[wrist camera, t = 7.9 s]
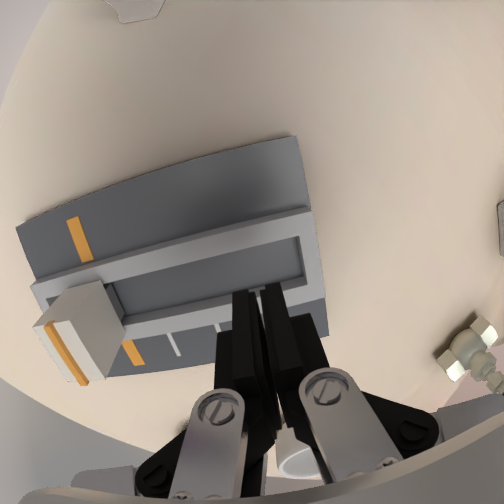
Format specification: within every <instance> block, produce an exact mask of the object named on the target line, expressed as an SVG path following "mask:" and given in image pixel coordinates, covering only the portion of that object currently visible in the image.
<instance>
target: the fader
mask: <svg viewBox="0 0 504 504" xmlns="http://www.w3.org/2000/svg"><path fill="white" fill-rule="evenodd" d="M124 314H125V313H124V311H123V309H122V306H121V304H120V302H119V300H118V298H117V296H116V293H115V291H114V289H113V287H112V285H111V283H109V284H105V285H103V284H102V282H101V280H99V281H95V282H91V283H87V284H84V285H80V286H76V287H72V288H68V289H65V290H64V292H63V293H62V294H61V295H60V296H59V297H58V298H57V299H56V300H55V301H54V303H53V304H52V305H51V306H50V307H49V308H48V309H47V311H46V312H45V313H44V314H43V315H42V316H41V317H40V319H39V320H38V321H37V322H36V323H35V325H34V326H33V327H32V328H33V329H34V331H35V333H36V335H37V336H38V338H39V340H40V341H41V343H42V345H43V346H44V348H45V349H46V351H47V352H48V354H49V356H50V357H51V359H52V360H53V362H54V363H55V365H56V366H57V368H58V369H59V370H60V372H61V373H62V375H63V376H64V378H65V379H66V380H67V382H76V381H78V382H79V384H80V385H81V386H87V385H88V383H89V381H94V380H106V378H107V375H108V373H109V371H110V368H111V366H112V364H113V361H114V359H115V357H116V354H117V352H118V350H119V348H120V345H121V343H122V341H123V339H124V337H125V334H126V332H125V330H124V328H123V326H122V324H121V320H122V318H123V316H124Z"/></svg>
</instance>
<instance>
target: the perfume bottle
mask: <svg viewBox="0 0 504 504" xmlns="http://www.w3.org/2000/svg"><path fill="white" fill-rule="evenodd" d="M104 1H105V2H106V3H108V4H109V5H110V6H112V7H113V8H114V9H115V10H116V11H117V15H118V18H119V21H120V23H122V24H123V23H129V22H134V21H140V20H146V19H152V18H155V17H156V16H157V15H158V13H159V11H160V9H161V7H162V5H163V3H164V1H165V0H104Z"/></svg>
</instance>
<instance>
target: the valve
mask: <svg viewBox="0 0 504 504" xmlns="http://www.w3.org/2000/svg"><path fill="white" fill-rule="evenodd" d="M497 338H498V336H497V333H496V331H495V329H494V328H493V327H492V325H491V324H490V323H489V322H488V321H487V320H486V319H485V318H484V317H482V316H479V317H478V318H477V319H476V320H475V321H474V322H473V323H472V324H471V326H470V327H469V329H465V330H463V331H461V332H460V333H458V334H457V335H456V336H455V338H454V339H453V340H452V342H451V344H450V347H449V349H447V350H446V351H445V352H444V353H443V354H442V355H441V356H440V357H439V358H438V359H437V362H438V363H439V364H440V366H441V367H442V368H443V370H444V371H445V372H446V374H447V375H448V376H449V377H450V379H451V380H452V381H453V382H455V381H456V380H457V379H458V378H459V377H461V376H462V375H463V374H464V373H465V372H466V371H465V370H468V369H470V370H471V376H472V377H473V378H474V380H475V381H477V382H478V381H481V380H482V381H486V380H487V381H488V382H487V385H486V386H487V387H488V388H489V389H490V391H491V392H492V393H497V392H498V393H499V394H501V395H503V396H504V375H503V374H502V373H501V372H500V371H498V372H495V369H496V366H495V364H496V358H495V357H494V356H493V355H492V354H491V353H490V352H488V353H486V352H485V351H486V349H488V348H489V347H490V346H491V345H492V344H493V342H494V341H495V340H496V339H497Z"/></svg>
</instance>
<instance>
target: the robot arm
mask: <svg viewBox="0 0 504 504" xmlns="http://www.w3.org/2000/svg"><path fill="white" fill-rule="evenodd" d="M259 291H260V298H261V305H262V312H263V319H264V324H263V320H262V317H261V313H260V309H259V305H258V301H257V298H256V294H255V291H253V292H249V290H248V289H243V290H239V291H234V292H232V330H227V331H221V332H218V333H217V341H216V358H215V377H214V390H212V391H209V392H207V393H205V394H204V395H202V396H201V397H200V398H199V399H198V400H197V401H196V402H195V404H194V406H193V408H192V412H191V416H190V419H189V423H188V426H187V428H186V429H185V430H184V431H182V432H181V433H180V434H179V435H178V436H176V437H175V438H174V439H173V440H171V441H170V442H169V443H168V444H166V445H165V446H164V447H163V448H161V449H160V450H159V451H158V452H156V453H155V454H154V455H153V456H151V457H150V458H149V459H147V460H146V461H145V462H144V463H143V464H142V465H141V466H140V467H136V468H135V467H134V466H124V467H117V468H109V469H100V470H87V471H82V472H79V473H78V474H77V475H75V477H74V478H73V480H72V482H71V487H47V488H43V489H38V490H34V491H32V492H29V493H28V494H26V495H25V496H23V498H22V499H21V500H20V502H19V503H18V504H504V396H503V395H501V394H497V393H494V394H488V395H485V396H483V397H479V398H476V399H472V400H469V401H466V402H462V403H459V404H455V405H451V406H447V407H442V408H438V410H437V412H433V413H427V412H425V411H423V410H419V409H416V408H412V407H409V406H406V405H403V404H399V403H396V402H393V401H390V400H387V399H384V398H381V397H378V396H375V395H372V394H369V393H366V392H363V391H360V389H359V387H358V386H357V384H356V383H355V381H354V380H353V378H352V377H351V376H350V375H349V374H348V373H347V372H345V371H343V370H342V369H338V368H330V366H329V363H328V360H327V357H326V355H325V352H324V349H323V346H322V343H321V341H320V338H319V335H318V332H317V329H316V327H315V324H314V321H313V319H312V316H311V314H310V313H306V314H301V315H297V316H293V317H289V313H288V310H287V306H286V302H285V298H284V295H283V291H282V287H281V284H280V281H279V282H275V283H270V284H266V285H265V289H263V290H259ZM264 326H265V328H264ZM277 394H278V397H277ZM278 398H279V401H280V405H281V408H282V411H283V415H284V418H285V422H286V425H287V428H293V430H294V434H295V437H296V439H297V440H299V441H301V442H302V443H304V444H306V445H308V446H309V448H310V451H311V453H312V456H313V458H314V460H315V463H316V465H317V468H318V470H319V472H320V475H321V477H322V480H323V482H324V484H325V485H323V486H319V487H314V488H309V489H304V490H299V491H293V492H288V493H281V494H274V495H266V496H265V484H266V472H267V460H268V455H267V451H268V450H269V449H270V448H271V447H272V446H273V445H274V444H275V440H276V439H277V432H276V431H277V430H282V423H281V416H280V410H279V403H278Z"/></svg>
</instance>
